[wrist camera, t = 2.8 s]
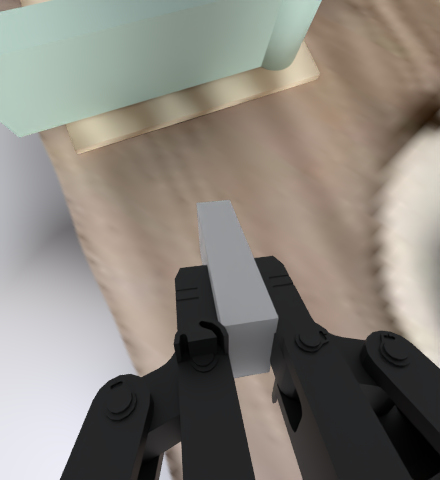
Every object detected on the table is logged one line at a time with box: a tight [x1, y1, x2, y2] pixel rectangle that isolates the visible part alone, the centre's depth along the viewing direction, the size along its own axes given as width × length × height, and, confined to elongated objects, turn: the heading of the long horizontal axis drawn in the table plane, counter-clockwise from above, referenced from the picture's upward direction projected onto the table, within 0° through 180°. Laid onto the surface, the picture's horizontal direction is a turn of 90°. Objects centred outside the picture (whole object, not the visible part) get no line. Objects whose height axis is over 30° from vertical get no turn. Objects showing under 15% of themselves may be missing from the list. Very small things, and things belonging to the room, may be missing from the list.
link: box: [0, 0, 322, 137], centre depth 23 cm, size 28×5×8 cm, turn 112°
